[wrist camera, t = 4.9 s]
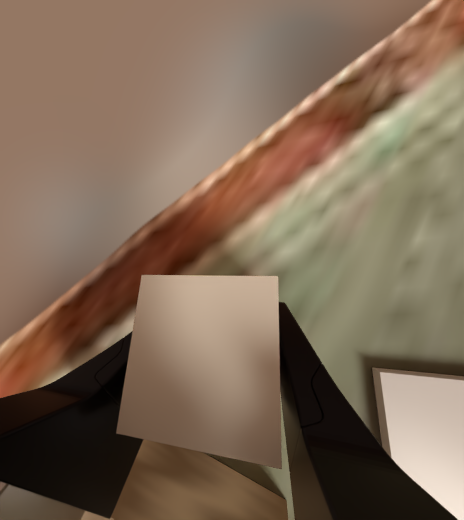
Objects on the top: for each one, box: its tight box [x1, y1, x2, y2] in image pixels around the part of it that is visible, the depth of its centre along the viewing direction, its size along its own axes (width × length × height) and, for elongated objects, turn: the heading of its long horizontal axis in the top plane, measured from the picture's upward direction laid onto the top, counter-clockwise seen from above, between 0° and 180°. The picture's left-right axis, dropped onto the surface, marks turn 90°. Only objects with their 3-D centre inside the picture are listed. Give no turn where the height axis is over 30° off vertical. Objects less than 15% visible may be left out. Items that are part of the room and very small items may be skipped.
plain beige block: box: [116, 275, 282, 469], centre depth 10 cm, size 4×5×11 cm
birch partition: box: [81, 439, 288, 520], centre depth 12 cm, size 18×2×6 cm, turn 73°
